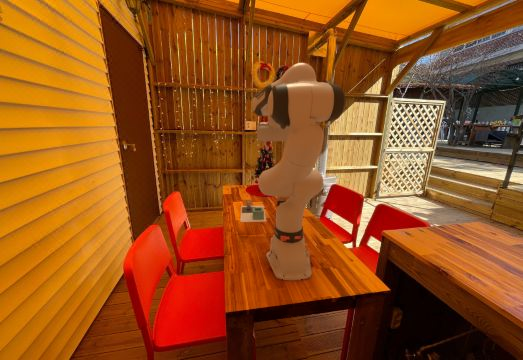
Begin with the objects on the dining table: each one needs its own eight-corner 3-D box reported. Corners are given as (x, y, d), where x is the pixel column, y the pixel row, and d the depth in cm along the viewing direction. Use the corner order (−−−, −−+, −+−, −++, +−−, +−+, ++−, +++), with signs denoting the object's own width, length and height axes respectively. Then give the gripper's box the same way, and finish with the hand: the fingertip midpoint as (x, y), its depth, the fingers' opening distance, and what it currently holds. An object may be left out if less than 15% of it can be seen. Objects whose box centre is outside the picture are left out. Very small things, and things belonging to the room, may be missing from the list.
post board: (266, 223, 123) (266, 211, 121) (240, 224, 122) (240, 212, 120) (263, 207, 146) (263, 197, 144) (241, 208, 145) (241, 197, 143)
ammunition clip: (276, 208, 145) (277, 191, 142) (276, 207, 147) (276, 190, 144) (292, 207, 147) (292, 190, 143) (291, 206, 148) (291, 190, 145)
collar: (263, 219, 125) (263, 211, 123) (252, 219, 124) (252, 211, 123) (263, 214, 131) (263, 207, 130) (252, 214, 131) (252, 207, 129)
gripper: (256, 122, 105) (256, 150, 109) (297, 123, 107) (295, 150, 110) (256, 122, 111) (256, 149, 115) (294, 122, 113) (293, 149, 116)
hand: (276, 149), depth 113 cm, fingers open, 8 cm apart
